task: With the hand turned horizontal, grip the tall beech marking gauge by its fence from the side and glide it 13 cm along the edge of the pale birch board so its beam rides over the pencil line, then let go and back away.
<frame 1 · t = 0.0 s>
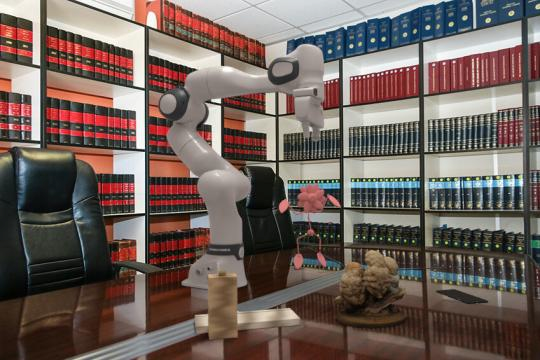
hand: (311, 139, 129), 48 cm above the table, tool pointing down, fingers open, 8 cm apart
smartphone: (460, 298, 120), on the table
figurine: (312, 270, 165), on the table
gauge: (222, 335, 89), on the table
board: (246, 323, 98), on the table
carved stone sculpture: (372, 320, 99), on the table
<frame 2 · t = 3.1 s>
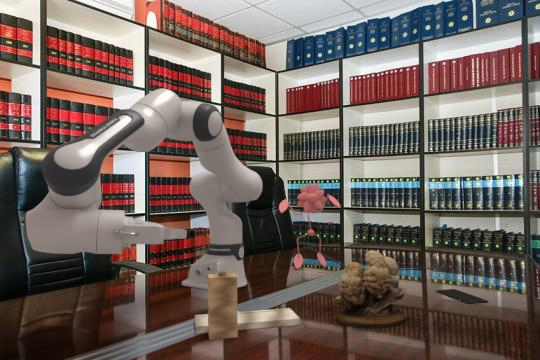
hand: (183, 233, 87), 23 cm above the table, tool horizontal, fingers open, 8 cm apart
nothing on the table moved.
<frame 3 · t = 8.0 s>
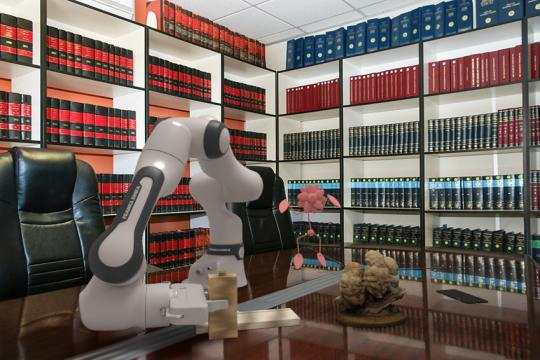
hand: (226, 300, 90), 8 cm above the table, tool horizontal, fingers closed on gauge, 4 cm apart
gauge: (222, 335, 89), on the table, touching gripper
everything else where it was.
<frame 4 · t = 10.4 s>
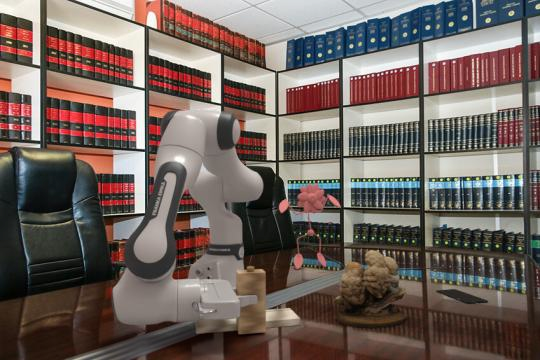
hand: (254, 295, 91), 8 cm above the table, tool horizontal, fingers closed on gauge, 4 cm apart
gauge: (250, 330, 91), point 1 cm above the table, touching gripper
everything else where it was.
when the fingers open (8 cm above the table, at t = 13.0 s): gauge stays where it is, on the table.
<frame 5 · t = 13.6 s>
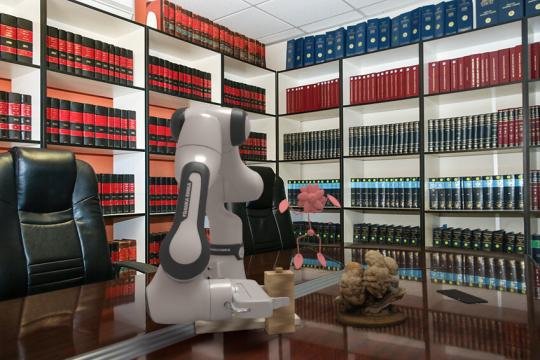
hand: (283, 295, 93), 8 cm above the table, tool horizontal, fingers open, 8 cm apart
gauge: (279, 330, 92), on the table
everything else where it was.
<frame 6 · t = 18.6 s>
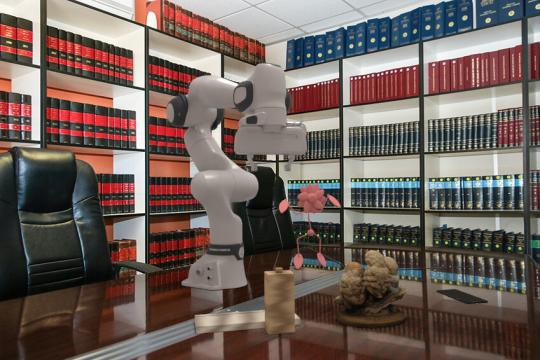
hand: (271, 171, 113), 37 cm above the table, tool pointing down, fingers open, 8 cm apart
nothing on the table moved.
at the end: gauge inside the target area (0.1 cm from its centre), on the table; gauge tilted 0°; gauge moved 12.9 cm from its start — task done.
